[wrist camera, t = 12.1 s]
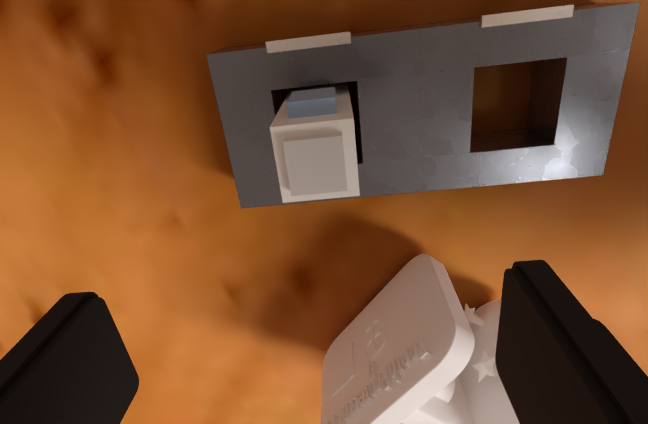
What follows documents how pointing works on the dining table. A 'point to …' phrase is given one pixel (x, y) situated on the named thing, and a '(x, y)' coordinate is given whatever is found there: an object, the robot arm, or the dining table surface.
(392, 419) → the cable organizer
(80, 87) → the dining table surface
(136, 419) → the dining table surface
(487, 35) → the jack panel
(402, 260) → the dining table surface
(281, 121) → the plug
